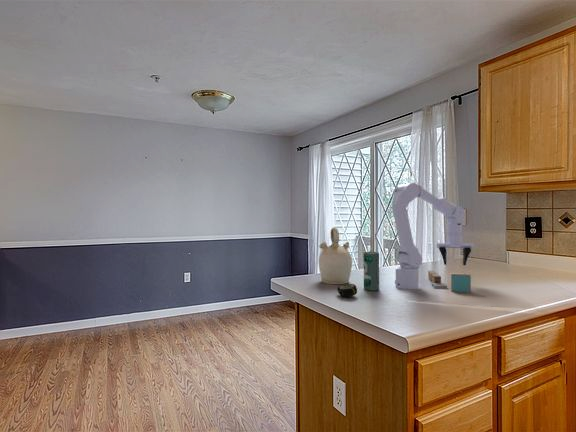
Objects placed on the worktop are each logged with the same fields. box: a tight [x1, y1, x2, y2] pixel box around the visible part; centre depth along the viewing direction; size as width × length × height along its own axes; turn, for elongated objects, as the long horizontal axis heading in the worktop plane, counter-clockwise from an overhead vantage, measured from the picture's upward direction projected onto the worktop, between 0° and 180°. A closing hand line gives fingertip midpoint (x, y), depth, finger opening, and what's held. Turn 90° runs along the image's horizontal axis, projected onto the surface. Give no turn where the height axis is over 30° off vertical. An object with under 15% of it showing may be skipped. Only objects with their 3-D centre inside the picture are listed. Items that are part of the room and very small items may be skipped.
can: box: [362, 251, 380, 292], centre depth 142 cm, size 6×6×15 cm
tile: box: [449, 272, 472, 293], centre depth 136 cm, size 7×3×7 cm, turn 72°
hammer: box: [427, 270, 448, 290], centre depth 151 cm, size 19×5×4 cm, turn 168°
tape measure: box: [337, 283, 358, 298], centre depth 130 cm, size 7×7×4 cm
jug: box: [318, 226, 353, 285], centre depth 157 cm, size 15×16×25 cm
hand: (454, 264), depth 150 cm, fingers open, 7 cm apart
